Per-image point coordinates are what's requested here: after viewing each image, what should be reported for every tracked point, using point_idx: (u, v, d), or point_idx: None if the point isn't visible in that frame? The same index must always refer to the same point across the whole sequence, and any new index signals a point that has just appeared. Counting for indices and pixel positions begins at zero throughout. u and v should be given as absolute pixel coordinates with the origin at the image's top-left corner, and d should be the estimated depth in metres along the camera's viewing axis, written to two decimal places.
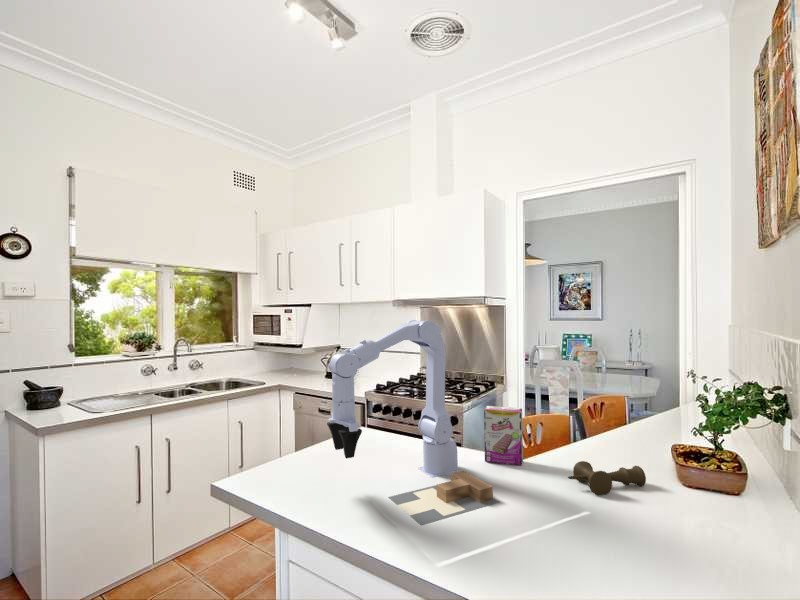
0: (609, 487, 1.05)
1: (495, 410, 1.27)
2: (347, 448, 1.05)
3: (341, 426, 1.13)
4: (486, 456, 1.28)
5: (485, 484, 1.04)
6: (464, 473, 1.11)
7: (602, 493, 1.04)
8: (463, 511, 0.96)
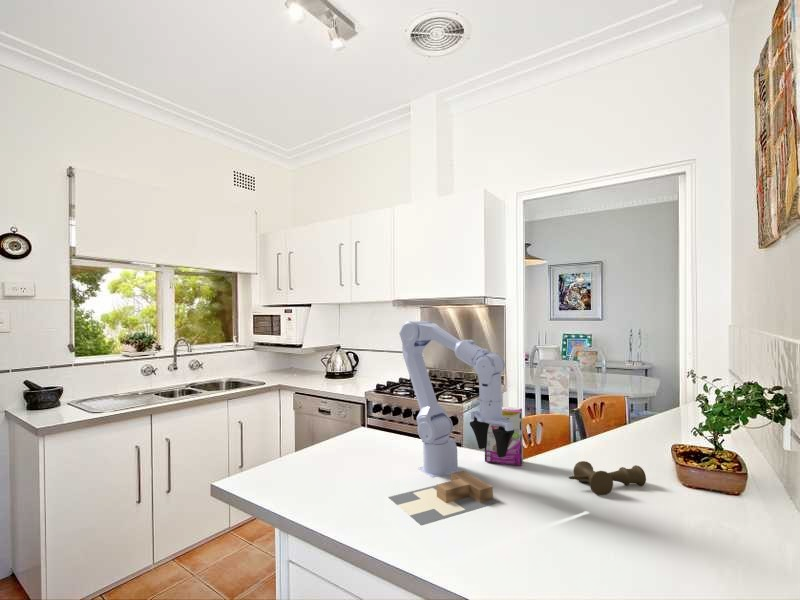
0: (610, 487, 1.05)
1: None
2: (500, 447, 1.06)
3: (484, 426, 1.14)
4: (486, 456, 1.28)
5: (485, 484, 1.04)
6: (464, 473, 1.11)
7: (603, 493, 1.04)
8: (463, 511, 0.96)
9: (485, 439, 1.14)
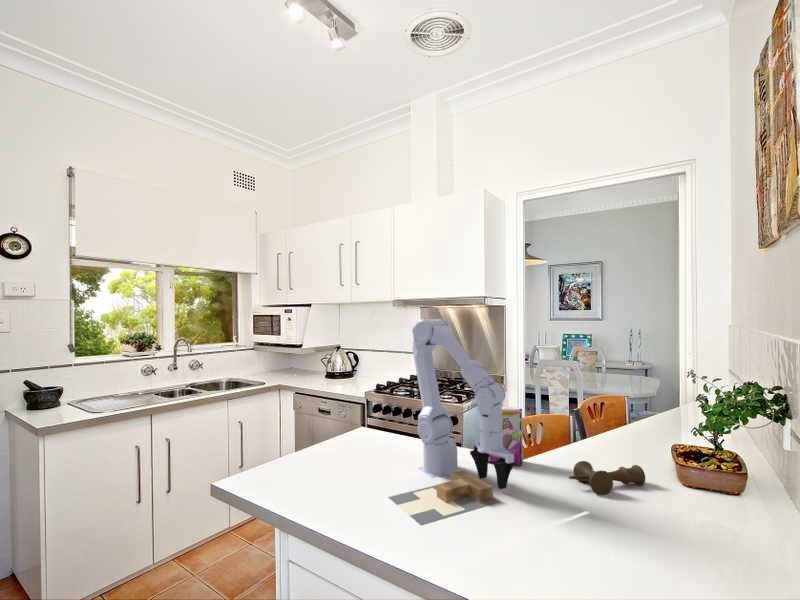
0: (610, 487, 1.05)
1: None
2: (501, 479, 1.06)
3: (484, 455, 1.13)
4: None
5: (485, 484, 1.04)
6: (464, 473, 1.11)
7: (603, 493, 1.05)
8: (463, 511, 0.96)
9: (485, 468, 1.13)
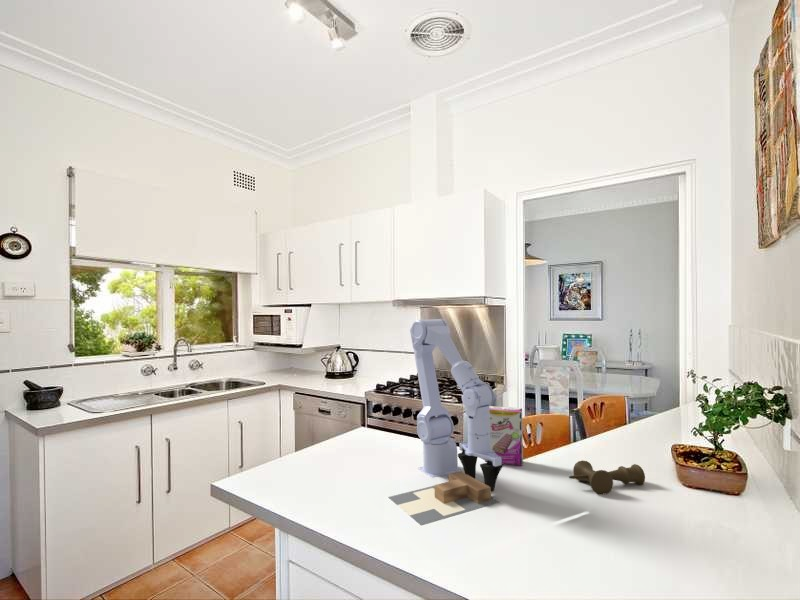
0: (610, 486, 1.05)
1: (495, 410, 1.27)
2: (488, 482, 1.04)
3: (472, 458, 1.12)
4: None
5: (483, 484, 1.03)
6: (462, 473, 1.11)
7: (603, 492, 1.05)
8: (463, 511, 0.96)
9: (473, 471, 1.12)
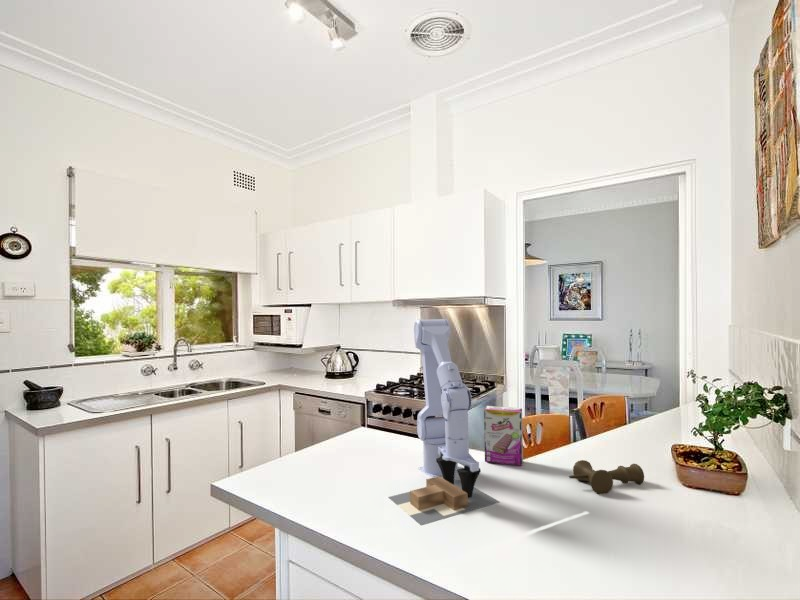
0: (610, 486, 1.05)
1: (495, 410, 1.27)
2: (466, 488, 1.01)
3: (451, 463, 1.08)
4: (486, 456, 1.28)
5: (460, 490, 1.00)
6: (440, 479, 1.07)
7: (603, 492, 1.05)
8: (463, 511, 0.96)
9: (452, 476, 1.08)
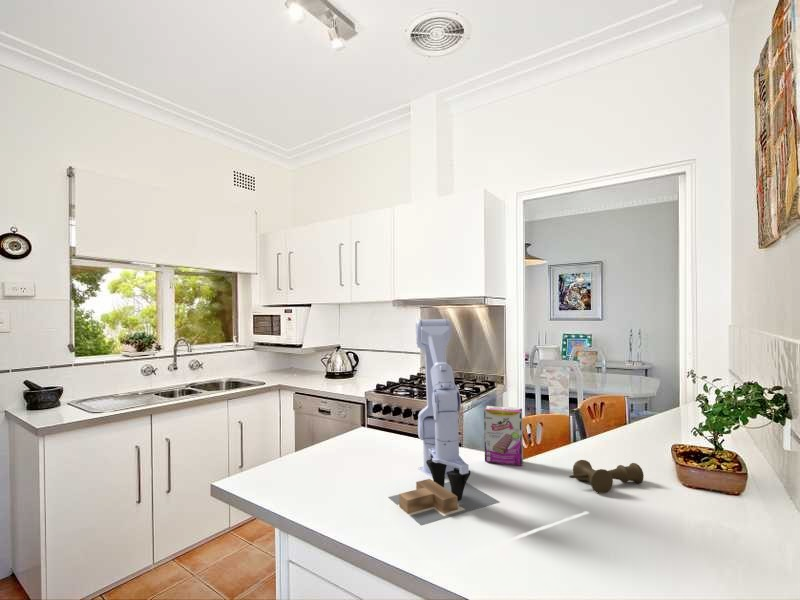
0: (610, 485, 1.06)
1: (495, 410, 1.27)
2: (455, 491, 0.99)
3: (441, 465, 1.07)
4: (486, 456, 1.28)
5: (450, 493, 0.99)
6: (430, 481, 1.06)
7: (604, 491, 1.05)
8: (463, 511, 0.96)
9: (442, 479, 1.07)
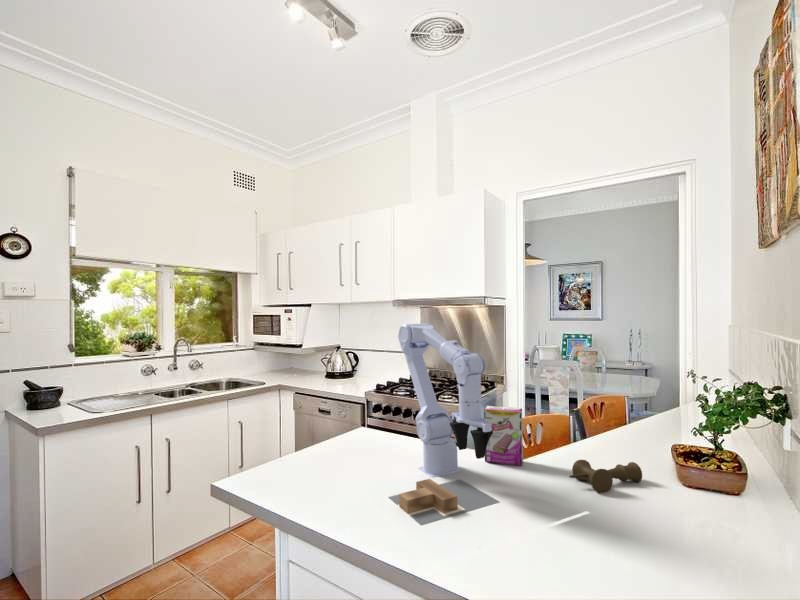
0: (610, 484, 1.06)
1: (495, 410, 1.27)
2: (479, 448, 1.05)
3: (464, 426, 1.13)
4: (486, 456, 1.28)
5: (450, 493, 0.99)
6: (430, 481, 1.06)
7: (604, 491, 1.06)
8: (463, 511, 0.96)
9: (465, 440, 1.13)
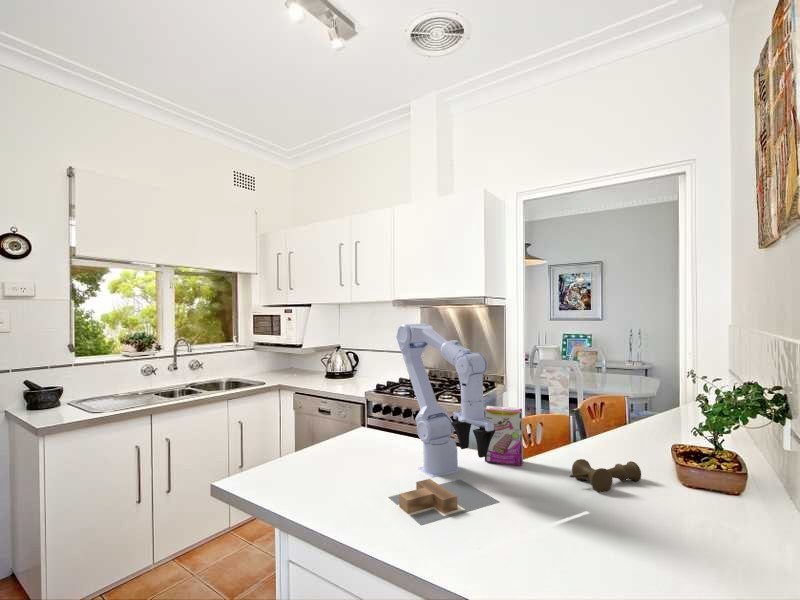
0: (610, 484, 1.07)
1: (495, 410, 1.27)
2: (481, 447, 1.06)
3: (466, 426, 1.13)
4: (486, 456, 1.28)
5: (450, 493, 0.99)
6: (430, 481, 1.06)
7: (604, 490, 1.06)
8: (463, 511, 0.96)
9: (467, 439, 1.13)
